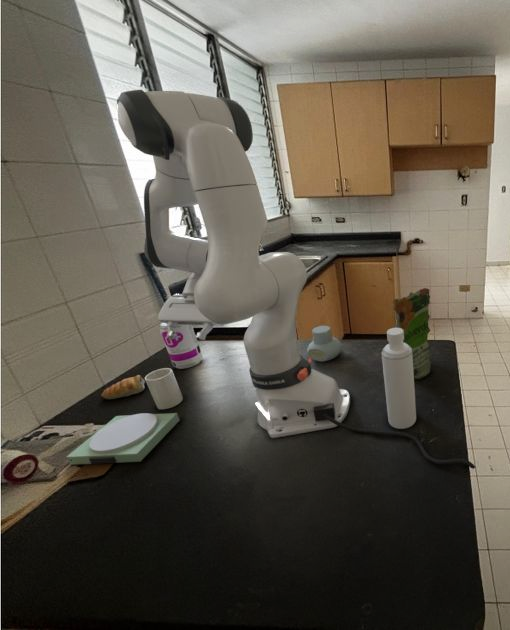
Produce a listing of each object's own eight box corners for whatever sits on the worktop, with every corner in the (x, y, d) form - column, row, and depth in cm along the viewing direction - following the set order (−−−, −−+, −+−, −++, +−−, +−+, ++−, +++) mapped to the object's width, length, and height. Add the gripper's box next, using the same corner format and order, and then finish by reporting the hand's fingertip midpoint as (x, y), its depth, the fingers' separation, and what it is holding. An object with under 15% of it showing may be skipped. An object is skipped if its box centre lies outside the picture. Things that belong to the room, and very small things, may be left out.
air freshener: (347, 352, 111) (343, 325, 107) (334, 365, 104) (329, 336, 100) (319, 348, 114) (314, 322, 110) (304, 361, 107) (298, 333, 103)
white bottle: (400, 406, 84) (392, 315, 74) (421, 416, 80) (416, 321, 71) (382, 422, 79) (371, 326, 69) (404, 433, 75) (396, 334, 66)
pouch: (432, 359, 105) (429, 283, 95) (435, 381, 94) (432, 297, 84) (396, 361, 104) (390, 285, 95) (395, 383, 93) (388, 300, 84)
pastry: (103, 405, 90) (97, 393, 89) (104, 393, 95) (99, 382, 94) (146, 391, 95) (141, 379, 94) (145, 381, 100) (140, 370, 99)
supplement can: (193, 369, 105) (177, 326, 100) (167, 370, 106) (150, 327, 100) (208, 356, 113) (195, 315, 107) (184, 357, 113) (170, 316, 107)
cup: (187, 395, 93) (177, 367, 89) (173, 408, 87) (161, 379, 84) (166, 396, 93) (155, 368, 89) (151, 409, 87) (138, 381, 84)
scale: (180, 420, 83) (176, 410, 82) (139, 463, 71) (133, 452, 69) (119, 422, 83) (115, 413, 82) (68, 466, 71) (62, 455, 70)
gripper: (161, 289, 98) (143, 333, 93) (224, 290, 95) (208, 336, 90) (179, 298, 104) (163, 340, 99) (238, 299, 100) (224, 343, 95)
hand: (185, 338), depth 94 cm, fingers open, 8 cm apart
